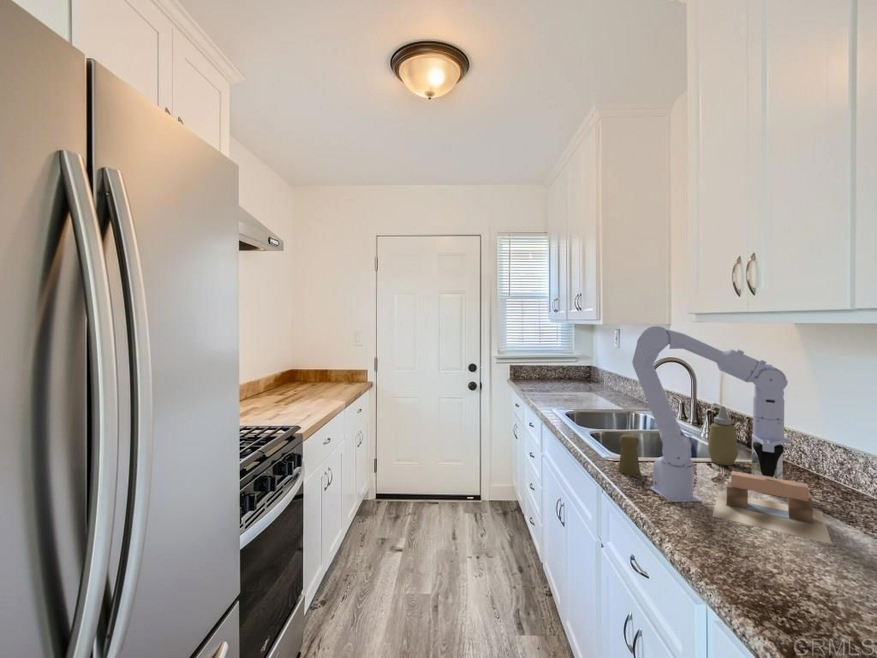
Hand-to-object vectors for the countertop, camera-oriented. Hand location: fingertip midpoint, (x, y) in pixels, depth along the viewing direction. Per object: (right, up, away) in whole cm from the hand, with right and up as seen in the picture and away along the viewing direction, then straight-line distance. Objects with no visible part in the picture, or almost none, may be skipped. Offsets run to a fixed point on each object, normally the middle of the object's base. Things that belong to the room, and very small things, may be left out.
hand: (767, 475), depth 99 cm
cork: (-20, -9, +28) cm, 36 cm away
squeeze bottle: (+14, -9, +36) cm, 39 cm away
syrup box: (+11, -9, +14) cm, 20 cm away
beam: (0, -4, 0) cm, 4 cm away
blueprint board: (-1, -9, -2) cm, 9 cm away
